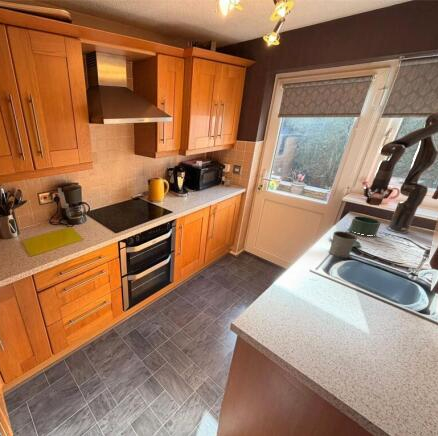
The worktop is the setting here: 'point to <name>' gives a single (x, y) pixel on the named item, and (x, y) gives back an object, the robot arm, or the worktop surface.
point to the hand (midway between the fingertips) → (372, 203)
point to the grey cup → (342, 244)
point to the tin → (364, 226)
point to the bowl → (353, 245)
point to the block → (375, 201)
